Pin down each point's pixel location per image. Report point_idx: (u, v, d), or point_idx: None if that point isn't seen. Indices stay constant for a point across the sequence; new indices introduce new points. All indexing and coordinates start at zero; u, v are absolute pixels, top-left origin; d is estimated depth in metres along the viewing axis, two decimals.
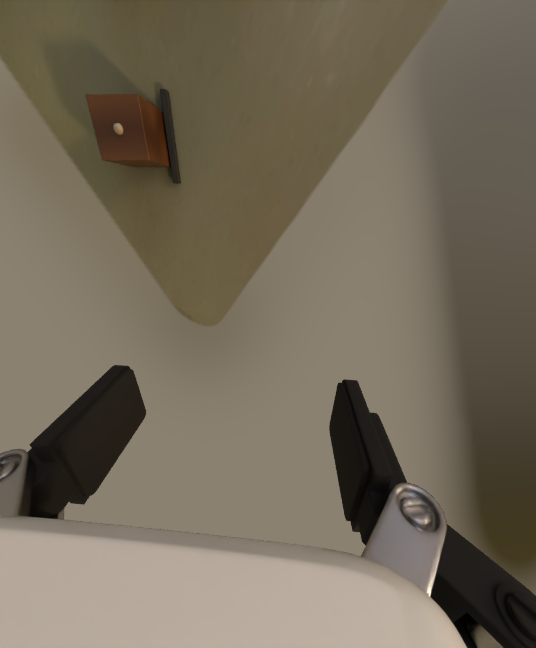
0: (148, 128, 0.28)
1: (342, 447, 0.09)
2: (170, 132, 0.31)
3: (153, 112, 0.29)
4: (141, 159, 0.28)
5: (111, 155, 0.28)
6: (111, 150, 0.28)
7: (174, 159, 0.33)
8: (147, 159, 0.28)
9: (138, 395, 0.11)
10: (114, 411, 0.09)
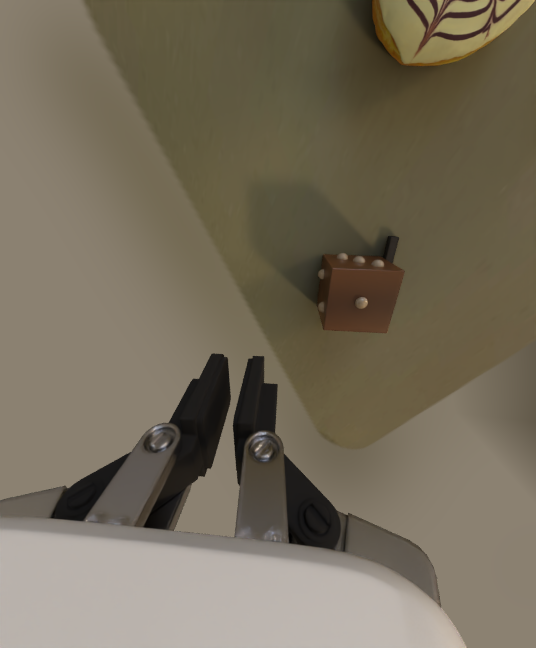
0: None
1: None
2: None
3: None
4: (377, 332, 0.22)
5: (338, 326, 0.22)
6: (340, 322, 0.22)
7: None
8: (384, 332, 0.22)
9: (228, 382, 0.12)
10: (220, 394, 0.10)
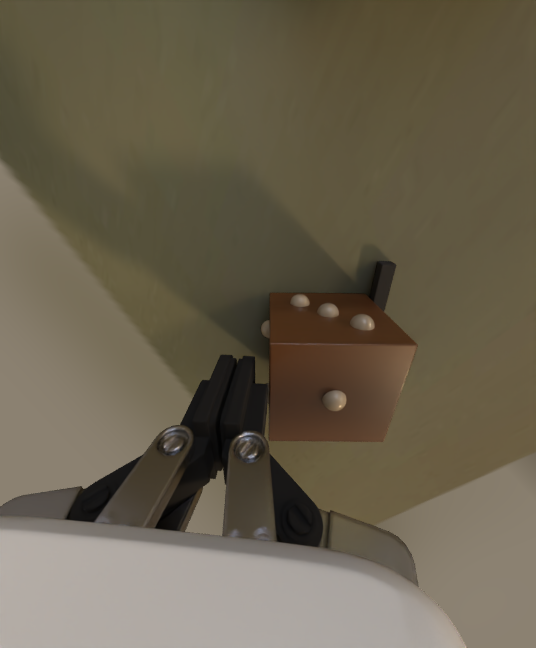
0: None
1: None
2: None
3: None
4: (365, 440, 0.12)
5: (295, 435, 0.12)
6: (299, 428, 0.12)
7: None
8: (379, 440, 0.12)
9: None
10: None
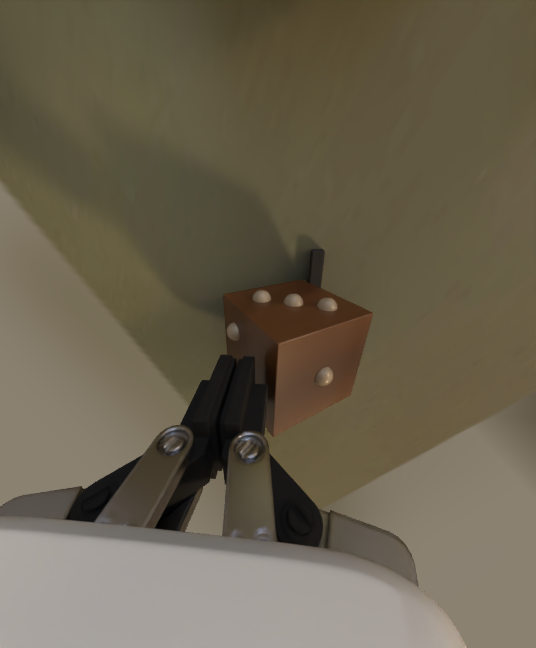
0: None
1: None
2: None
3: None
4: (340, 400, 0.15)
5: (294, 420, 0.13)
6: (297, 413, 0.13)
7: None
8: (348, 395, 0.15)
9: None
10: None
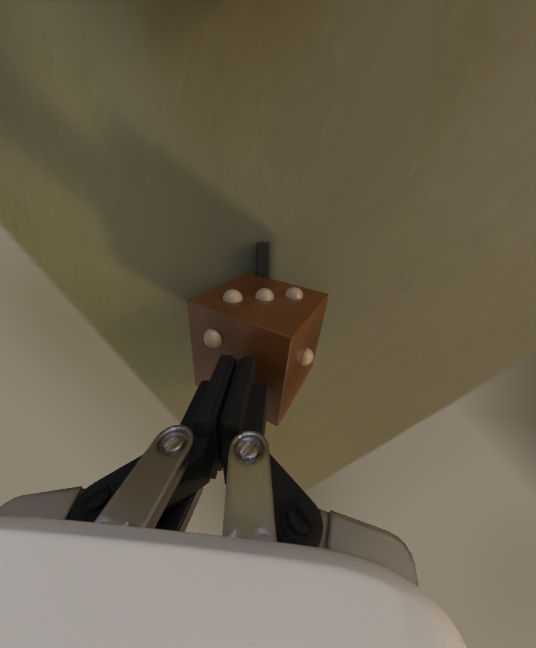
0: None
1: None
2: None
3: None
4: None
5: (288, 404, 0.14)
6: (290, 397, 0.14)
7: None
8: (311, 367, 0.18)
9: None
10: None
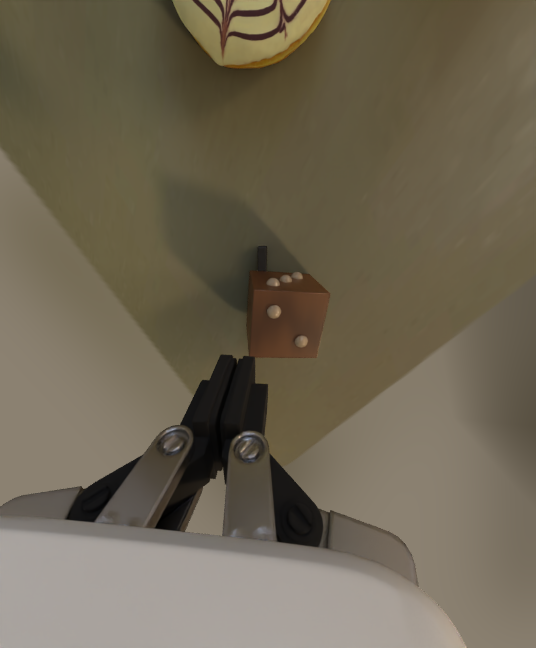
0: None
1: None
2: None
3: None
4: None
5: None
6: None
7: None
8: None
9: None
10: None
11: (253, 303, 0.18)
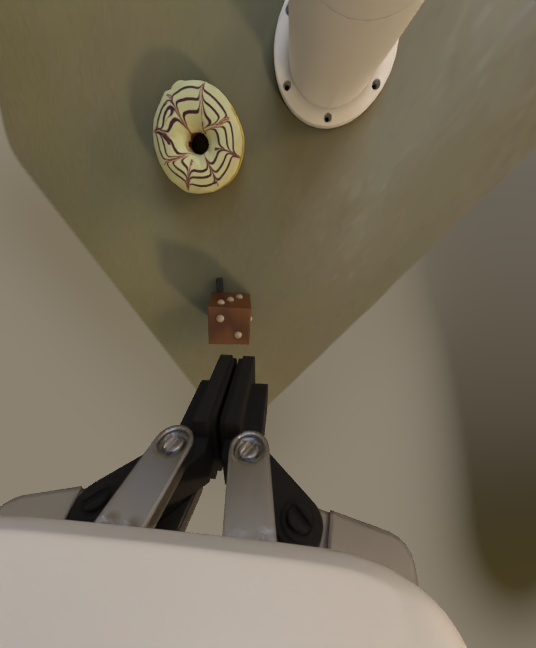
0: None
1: None
2: None
3: None
4: None
5: None
6: None
7: None
8: None
9: None
10: None
11: (208, 314, 0.33)
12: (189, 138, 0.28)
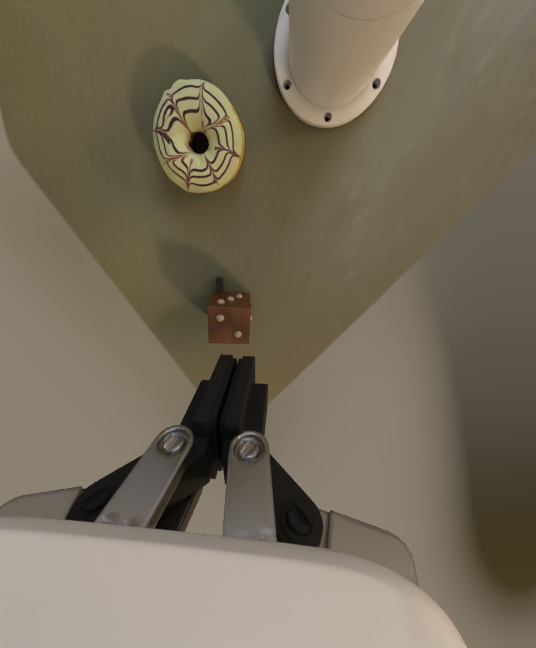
0: None
1: None
2: None
3: None
4: None
5: None
6: None
7: None
8: None
9: None
10: None
11: (208, 313, 0.33)
12: (189, 137, 0.28)
